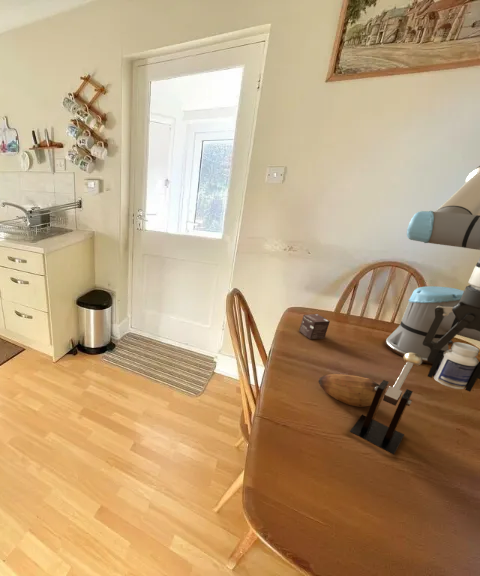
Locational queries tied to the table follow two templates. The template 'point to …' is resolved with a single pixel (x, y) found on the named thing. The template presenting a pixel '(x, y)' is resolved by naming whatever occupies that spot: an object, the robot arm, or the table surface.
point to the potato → (349, 388)
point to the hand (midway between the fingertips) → (449, 381)
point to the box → (314, 326)
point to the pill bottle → (457, 366)
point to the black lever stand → (379, 432)
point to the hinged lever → (402, 378)
